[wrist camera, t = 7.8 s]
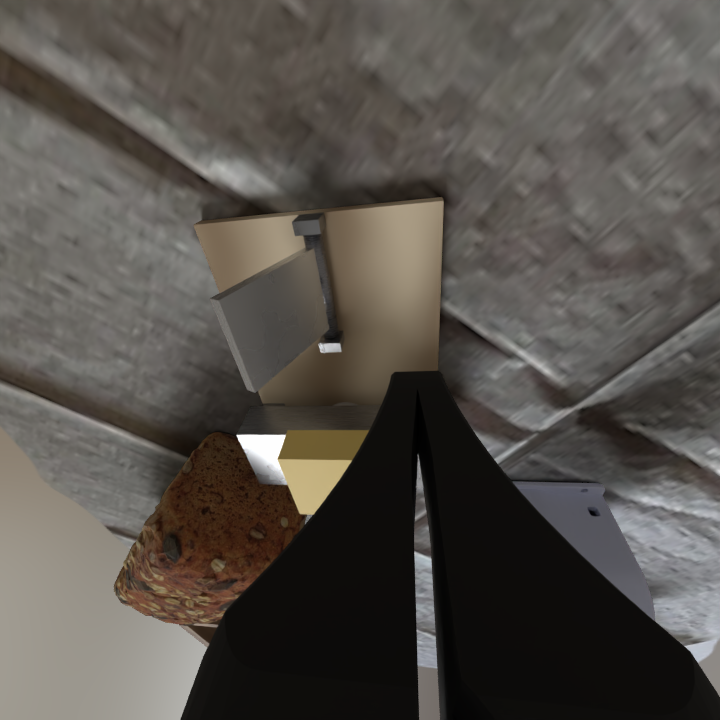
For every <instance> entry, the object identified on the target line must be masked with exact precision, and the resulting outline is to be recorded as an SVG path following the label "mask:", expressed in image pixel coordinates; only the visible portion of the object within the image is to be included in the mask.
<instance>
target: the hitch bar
mask: <svg viewBox="0 0 720 720" xmlns="http://www.w3.org/2000/svg"><path fill="white" fill-rule="evenodd" d="M292 225H293V230H294V234H295V236H302V235H314V234H321V233H322V231H323V230H324V228H325V227H326V221H325V215H324V212H322V213H312V214H302V215H298V216H297V217H296V218H295V219H294V220H293V221H292ZM344 340H345V338H344V331H339V335H338V336H337V337H335V338H325V337H324V335H322V336H321V339H320V341H319V348H320V352H321V353H327V352H342V348H343V344H344ZM380 407H381V405H341V406H285V404H284V403H268V404H262V406H251V407H250V409H249V411H248V413H247V415H246V417H245V419H244V421H243V423H242V425H241V426H240V428H239V430H238V432H237V434H236V435H237V438H238V440H239V442H240V444H241V446H242V448H243V450H244V452H245V454H246V456H247V458H248V460H249V462H250V464H251V466H252V468H253V470H254V472H255V474H256V476H257V478H258V481H259V483H260V484H277V485H288V484H287V482H286V479H285V477H284V475H283V472H282V470H281V467H280V465H279V462H278V460H277V458H278V456H279V453H280V450H281V447H282V444H283V442H284V439H285V436H286V433H287V430H370V428H371V426H372V424H373V422H374V420H375V418H376V415H377V413H378V411H379V409H380ZM416 488H423V483H422V476H421V469H420V462H419V455H418V467H417V486H416Z"/></svg>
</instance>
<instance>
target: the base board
mask: <svg viewBox="0 0 720 720" xmlns="http://www.w3.org/2000/svg"><path fill="white" fill-rule="evenodd" d="M443 206H444V200H443V198H442V197H437V198H427V199H417V200H406V201H396V202H386V203H376V204H366V205H356V206H345V207H335V208H325V209H315V210H305V211H294V212H284V213H274V214H264V215H254V216H244V217H233V218H223V219H213V220H203V221H200V222H198V223H196V224H194V228H195V230H196V233H197V235H198V238H199V241H200V243H201V246H202V248H203V251H204V253H205V256H206V259H207V261H208V264H209V266H210V269H211V271H212V274H213V277H214V279H215V282H216V284H217V287H218V290H219V292H220V293H221V292H223V291H225V290H227V289H229V288H230V287H232V286H234V285H236V284H238V283H240V282H242V281H243V280H245V279H247V278H249V277H251V276H253V275H255V274H257V273H258V272H260V271H262V270H264V269H266V268H268V267H270V266H272V265H273V264H275V263H277V262H279V261H281V260H283V259H285V258H287V257H288V256H290V255H292V254H294V253H296V252H298V251H300V250H301V249H303V248H305V243H304V238H303V235H302V236H295V234H294V230H293V225H292V221H293V220H294V219H295V218H296V217H297V216H298V215H302V214H312V213H322V212H324V215H325V221H326V227H325V228H324V230H323V231H322V235H323V241H324V247H325V253H326V259H327V264H328V270H329V276H330V282H331V288H332V293H333V299H334V305H335V311H336V317H337V322H338V328H339V331H344V338H345V340H344V344H343V348H342V352H327V353H321V352H320V348H319V341H320V339H321V337H320V338H318V339H317V340H316V341H315V342H314V343H313V344H312V345H310V346H309V347H308V348H307V349H306V350H305V351H303V352H302V353H301V354H300V355H299V356H298V357H296V358H295V359H294V360H293V361H292V362H291V363H290V364H288V365H287V366H286V367H285V368H284V369H283V370H281V371H280V372H279V373H278V374H277V375H276V376H274V377H273V378H272V379H271V380H270V381H269V382H267V383H266V384H265V385H264V386H263V387H262V388H261V389H259V390H258V393H259V395H260V398H261V401H262V403H263V404H268V403H284V404H285V406H333V405H335V404H337V403H342V402H349V403H354V404H357V405H382V402H383V400H384V397H385V395H386V392H387V389H388V386H389V383H390V378H391V375H392V374H393V373H394V372H406V371H438V354H439V325H440V295H441V265H442V236H443Z"/></svg>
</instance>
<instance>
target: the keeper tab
mask: <svg viewBox="0 0 720 720" xmlns="http://www.w3.org/2000/svg"><path fill="white" fill-rule="evenodd" d="M303 238H304V243H305V248H303V249H301V250H300V251H298V252H296V253H294V254H292V255H290V256H288V257H287V258H285V259H283V260H281V261H279V262H277V263H275V264H273V265H272V266H270V267H268V268H266V269H264V270H262V271H260V272H258V273H257V274H255V275H253V276H251V277H249V278H247V279H245V280H243V281H242V282H240V283H238V284H236V285H234V286H232V287H230V288H229V289H227V290H225V291H223V292H221V293H219V294H217V295H215V296H214V297H212V298H210V301H211V303H212V306H213V308H214V310H215V313H216V315H217V318H218V320H219V323H220V325H221V327H222V330H223V332H224V335H225V337H226V340H227V342H228V344H229V347H230V349H231V352H232V354H233V357H234V359H235V361H236V364H237V366H238V369H239V371H240V374H241V376H242V378H243V381H244V383H245V386H246V388H247V390H249V391H251V392H254V393H256V392H257V391H258V390H259V389H261V388H262V387H263V386H264V385H265V384H266V383H267V382H269V381H270V380H271V379H272V378H273V377H274V376H276V375H277V374H278V373H279V372H280V371H281V370H283V369H284V368H285V367H286V366H287V365H288V364H290V363H291V362H292V361H293V360H294V359H295V358H296V357H298V356H299V355H300V354H301V353H302V352H303V351H305V350H306V349H307V348H308V347H309V346H310V345H312V344H313V343H314V342H315V341H316V340H317V339H318V338H320V337H321V336H322V335H324V337H325V338H335V337H337V336H338V335H339V328H338V322H337V317H336V311H335V305H334V299H333V293H332V288H331V282H330V276H329V270H328V264H327V259H326V253H325V247H324V241H323V235H322V233H321V234H314V235H303Z"/></svg>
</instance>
